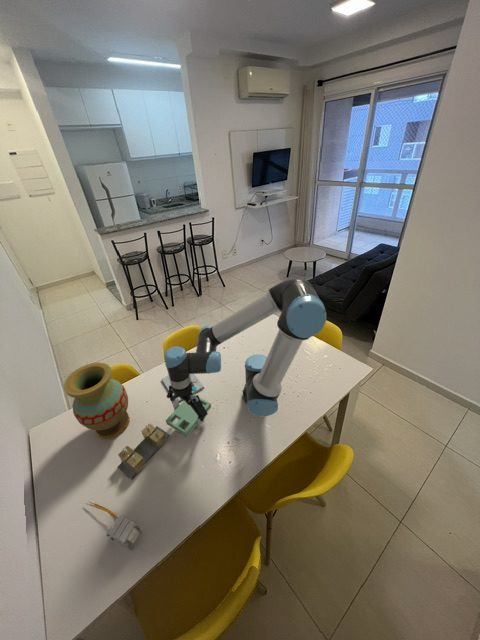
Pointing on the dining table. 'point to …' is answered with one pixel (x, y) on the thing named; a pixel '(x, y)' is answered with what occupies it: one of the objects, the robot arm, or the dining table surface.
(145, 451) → the chassis
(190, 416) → the board
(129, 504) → the dining table surface
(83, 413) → the vase
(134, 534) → the electrical component
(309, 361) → the dining table surface
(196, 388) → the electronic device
